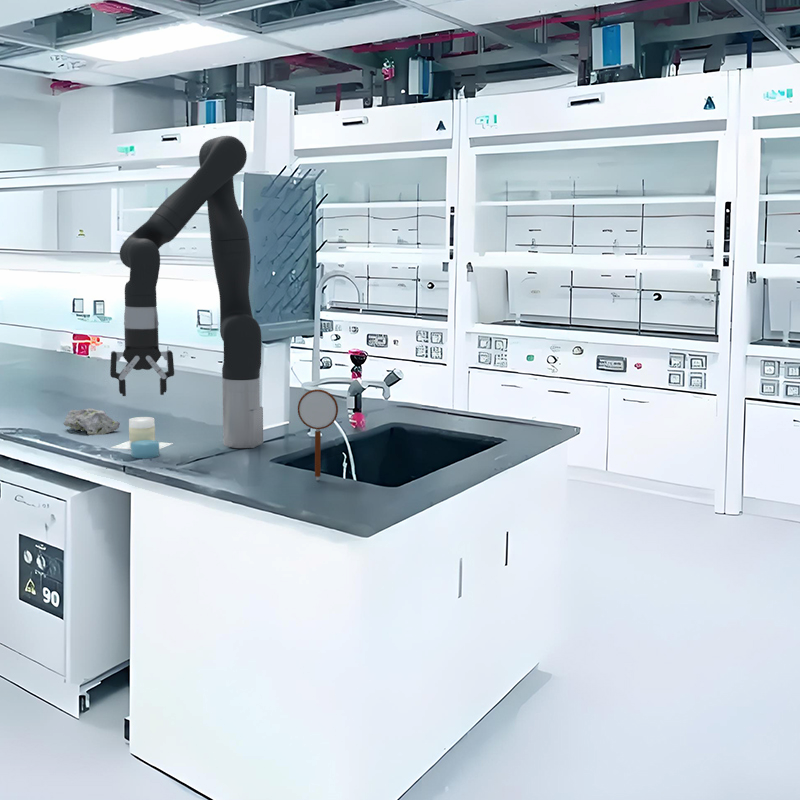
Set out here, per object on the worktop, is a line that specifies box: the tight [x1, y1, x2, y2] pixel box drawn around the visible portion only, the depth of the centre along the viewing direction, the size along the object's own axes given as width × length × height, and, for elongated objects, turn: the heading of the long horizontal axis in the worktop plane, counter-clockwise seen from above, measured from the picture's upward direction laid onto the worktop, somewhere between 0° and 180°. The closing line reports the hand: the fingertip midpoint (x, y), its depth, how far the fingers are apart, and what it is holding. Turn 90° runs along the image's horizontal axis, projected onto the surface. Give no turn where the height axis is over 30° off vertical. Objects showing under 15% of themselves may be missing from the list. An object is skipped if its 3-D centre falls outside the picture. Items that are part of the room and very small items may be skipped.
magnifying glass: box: [297, 389, 339, 482], centre depth 184 cm, size 9×2×20 cm, turn 89°
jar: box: [128, 416, 156, 448], centre depth 211 cm, size 6×6×7 cm
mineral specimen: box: [63, 407, 120, 436], centre depth 228 cm, size 16×7×7 cm, turn 69°
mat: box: [110, 440, 174, 451], centre depth 214 cm, size 12×9×1 cm
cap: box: [130, 439, 160, 459], centre depth 204 cm, size 6×6×4 cm
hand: (143, 395), depth 202 cm, fingers open, 8 cm apart
